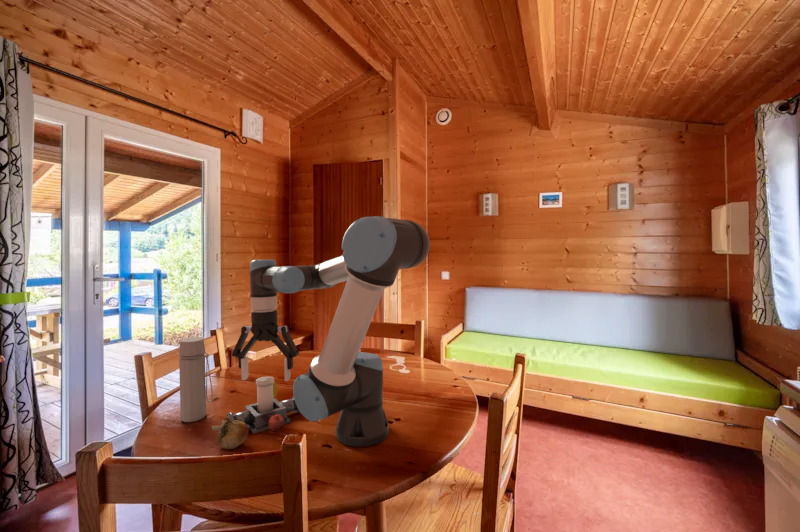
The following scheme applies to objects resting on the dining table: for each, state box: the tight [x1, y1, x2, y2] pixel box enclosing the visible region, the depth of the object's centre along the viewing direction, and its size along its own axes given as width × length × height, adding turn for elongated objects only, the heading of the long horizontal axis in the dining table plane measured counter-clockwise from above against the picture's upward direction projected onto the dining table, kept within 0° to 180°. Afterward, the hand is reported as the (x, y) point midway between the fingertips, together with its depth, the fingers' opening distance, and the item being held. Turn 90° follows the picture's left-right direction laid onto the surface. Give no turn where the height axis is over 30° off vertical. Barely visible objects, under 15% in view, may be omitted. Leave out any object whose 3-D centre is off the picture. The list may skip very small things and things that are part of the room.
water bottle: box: [177, 336, 214, 423], centre depth 114 cm, size 9×8×25 cm
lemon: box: [273, 380, 278, 399], centre depth 127 cm, size 6×6×8 cm
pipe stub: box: [255, 376, 275, 414], centre depth 112 cm, size 5×5×12 cm
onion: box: [211, 417, 249, 450], centre depth 98 cm, size 8×8×8 cm
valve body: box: [226, 395, 301, 435], centre depth 111 cm, size 14×21×6 cm
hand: (266, 379), depth 111 cm, fingers open, 13 cm apart
